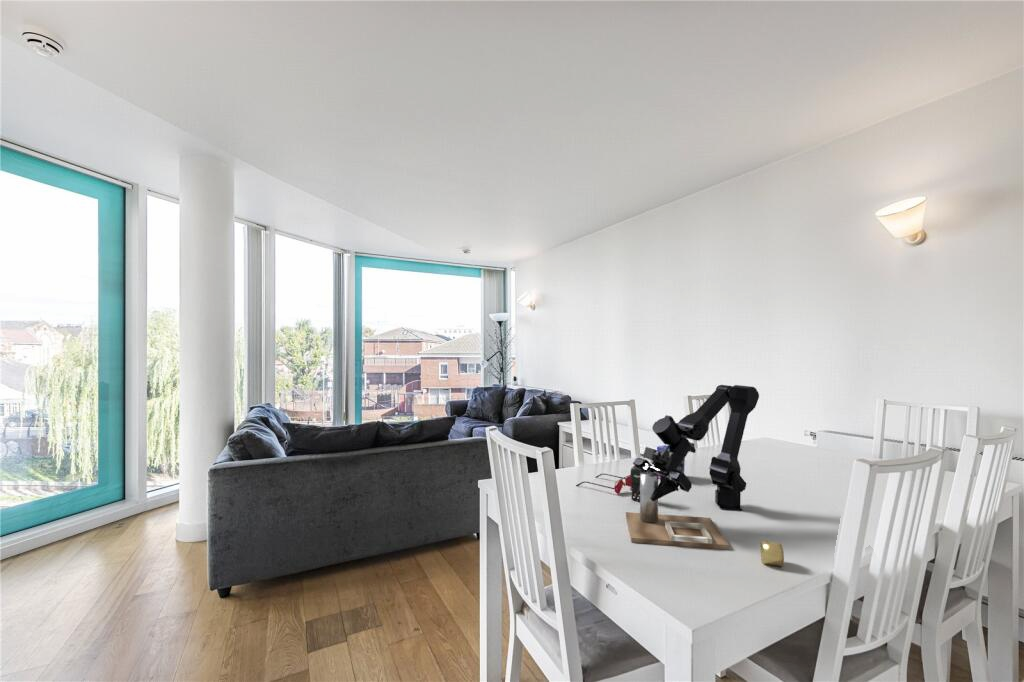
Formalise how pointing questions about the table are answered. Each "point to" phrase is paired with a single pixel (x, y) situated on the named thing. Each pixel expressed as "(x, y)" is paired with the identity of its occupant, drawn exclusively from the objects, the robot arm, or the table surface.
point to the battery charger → (635, 483)
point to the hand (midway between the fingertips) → (645, 497)
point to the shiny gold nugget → (772, 553)
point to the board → (676, 531)
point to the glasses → (619, 484)
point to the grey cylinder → (648, 497)
